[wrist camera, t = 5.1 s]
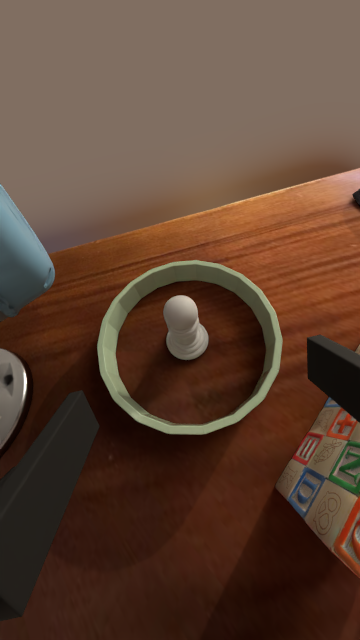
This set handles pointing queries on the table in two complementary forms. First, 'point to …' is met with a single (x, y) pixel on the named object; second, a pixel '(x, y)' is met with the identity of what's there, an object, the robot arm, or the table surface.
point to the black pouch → (357, 196)
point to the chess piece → (184, 328)
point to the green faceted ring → (168, 276)
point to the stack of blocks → (329, 482)
